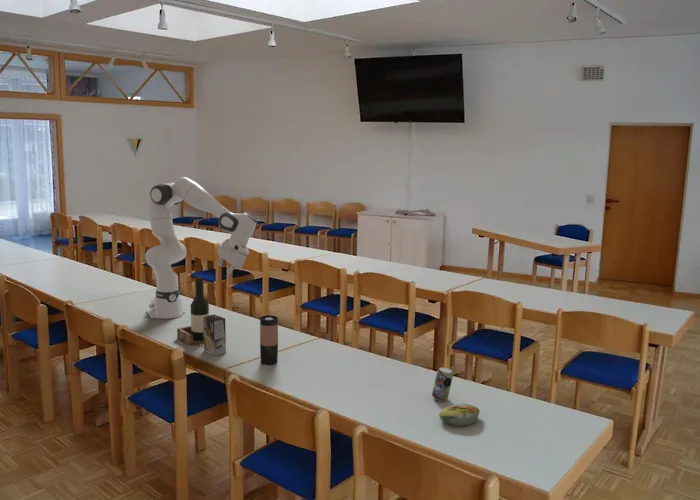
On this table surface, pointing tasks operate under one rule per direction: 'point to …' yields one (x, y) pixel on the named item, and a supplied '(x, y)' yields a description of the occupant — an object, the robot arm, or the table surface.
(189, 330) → the tray
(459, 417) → the cell model
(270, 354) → the travel mug
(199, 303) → the wine bottle
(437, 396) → the beverage can
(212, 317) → the coffee box
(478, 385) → the table surface
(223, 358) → the table surface
